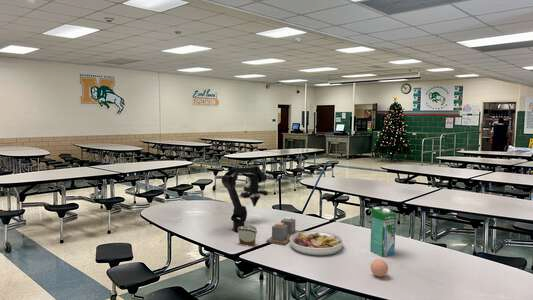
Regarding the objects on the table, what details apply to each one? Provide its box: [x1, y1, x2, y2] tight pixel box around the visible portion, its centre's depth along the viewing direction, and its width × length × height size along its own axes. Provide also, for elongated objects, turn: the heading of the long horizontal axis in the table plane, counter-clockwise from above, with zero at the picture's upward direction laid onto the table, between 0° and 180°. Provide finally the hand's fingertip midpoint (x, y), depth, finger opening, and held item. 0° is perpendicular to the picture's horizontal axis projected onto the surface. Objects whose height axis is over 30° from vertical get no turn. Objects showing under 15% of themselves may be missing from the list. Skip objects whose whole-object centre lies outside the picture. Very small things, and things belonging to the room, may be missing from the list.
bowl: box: [289, 230, 344, 256], centre depth 209 cm, size 30×30×8 cm
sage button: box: [283, 216, 293, 221], centre depth 231 cm, size 4×4×3 cm
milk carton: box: [369, 205, 397, 258], centre depth 200 cm, size 9×9×25 cm
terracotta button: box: [275, 221, 284, 227], centre depth 219 cm, size 4×4×3 cm
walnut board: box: [265, 229, 301, 246], centre depth 226 cm, size 26×12×1 cm, turn 155°
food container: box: [237, 225, 258, 248], centre depth 214 cm, size 12×6×10 cm, turn 65°
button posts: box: [271, 218, 296, 241], centre depth 226 cm, size 21×7×8 cm, turn 155°
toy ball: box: [370, 258, 389, 278], centre depth 171 cm, size 8×8×8 cm
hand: (254, 206), depth 251 cm, fingers closed
